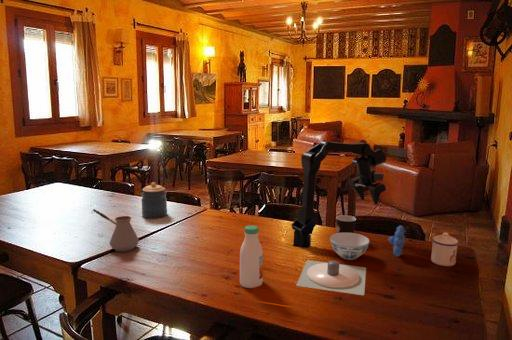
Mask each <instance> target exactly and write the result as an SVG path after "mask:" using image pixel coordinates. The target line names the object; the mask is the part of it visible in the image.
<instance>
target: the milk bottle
mask: <svg viewBox="0 0 512 340" xmlns="http://www.w3.org/2000/svg"><path fill="white" fill-rule="evenodd" d="M259 232H260V231H259V227H258V226H257V225H247V226H245V227H244V240H243V242H242V244H241V247H240V251H239V285H241V287H243V288H245V289H254V288H258V287H260V286H261V285H263V281H264V279H263V274H264V273H263V267H264V265H263V264H264V263H263V262H264V251H263V247H262V245H261V241H260V240H259Z"/></svg>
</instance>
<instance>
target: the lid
mask: <svg viewBox="0 0 512 340" xmlns="http://www.w3.org/2000/svg"><path fill="white" fill-rule="evenodd" d="M345 265H346V264H342V265H341V263H340V262H339V261H338V260H328V261H327V262H325V263H321V264H316V265H313V266H311V267H310V268H309V269H308V270H307V276H308V278H309V279H310V280H311V281H312V282H314V283H316V284H318V285H321V286H324V287H329V288H347V287H351V286H354V285H356V284H357V283H358V282H359V274H358V272H357V271H356V270H354V269H353V268H351V267H348V266H345Z"/></svg>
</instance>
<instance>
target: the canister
mask: <svg viewBox="0 0 512 340" xmlns="http://www.w3.org/2000/svg"><path fill="white" fill-rule="evenodd" d="M165 190H166V187H163V186H162V185H160V184H157V183H156V182H155V181H153V182H151V183H150V185H147V186H144V187H143V188H142V190H141V191H142V192H141V194H140V195H141V214H142V218H144V219H162V218H164V217H166V216H167V215H168V203H167V202H168V201H167V199H168V198H167V197H166V196H167V191H165Z"/></svg>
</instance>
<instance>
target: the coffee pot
mask: <svg viewBox="0 0 512 340" xmlns="http://www.w3.org/2000/svg"><path fill="white" fill-rule="evenodd" d="M90 213H91V214H93V215H94V213H95V214H98V215H99V216H100V217H101V218H104V219H105V220H107V221H109V222H110V223H112V224H114V225H115V227H114V230H113V233H112V236H111V237H110V240H109V245H110V247H111V248H112V249H113V250H115V251H116V252H122V253H124V252H130V251H132V250H134V249H135V247H137V245H138V244H139V242H140V239H139V238H138V236H137V233H136V232H135V230H134V228H133V225H132V224H131V220H132V217H131V216H129V215H122V216H117V217H115V218H114V220H112V219H111V218H109V217H108V216H107V215H106V214H104V213H102V212H100V211H99V210H97V209H95V208H94V209H92V211H91V212H90Z"/></svg>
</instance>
